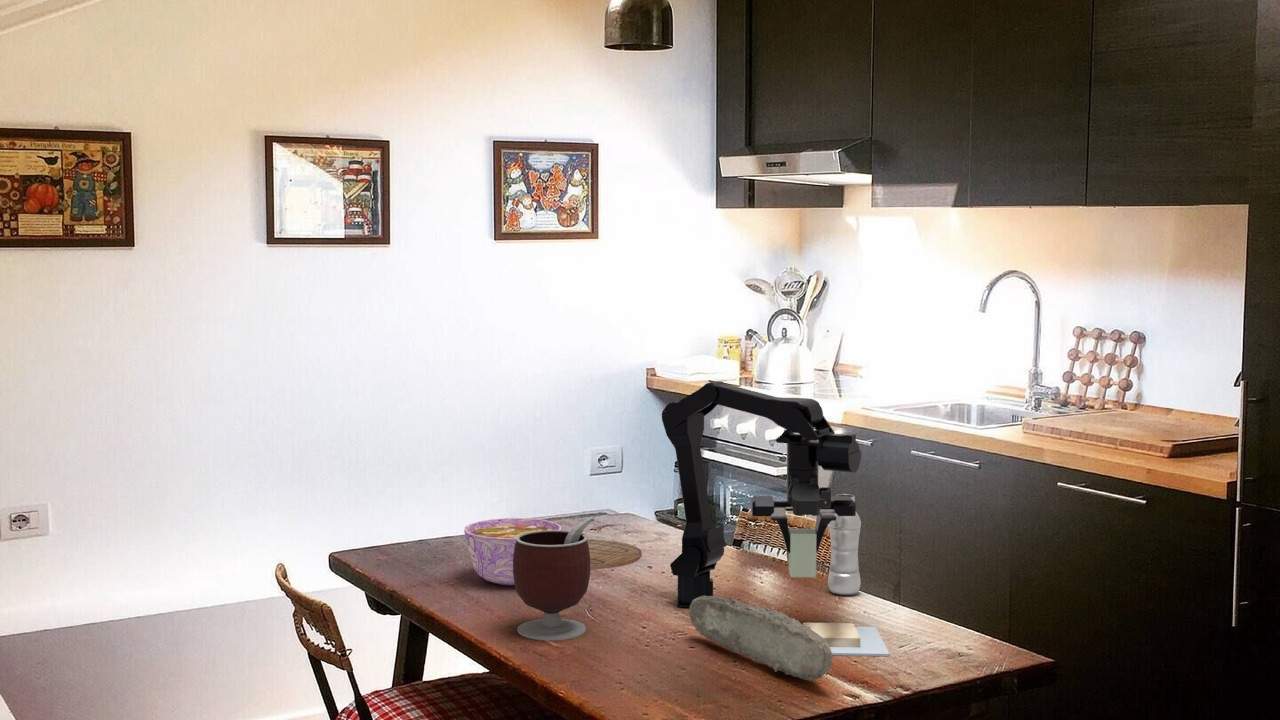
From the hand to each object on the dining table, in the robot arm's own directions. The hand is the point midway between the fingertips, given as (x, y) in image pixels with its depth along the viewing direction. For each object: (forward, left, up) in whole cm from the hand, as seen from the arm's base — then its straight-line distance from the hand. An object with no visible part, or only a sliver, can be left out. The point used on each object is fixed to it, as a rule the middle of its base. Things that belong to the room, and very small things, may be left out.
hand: (802, 552), depth 238 cm
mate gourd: (-45, -7, -14) cm, 47 cm away
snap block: (0, 0, -4) cm, 4 cm away
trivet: (-43, +49, -14) cm, 67 cm away
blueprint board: (+4, -11, -13) cm, 18 cm away
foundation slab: (+4, -11, -13) cm, 17 cm away
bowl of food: (-57, +26, -14) cm, 64 cm away
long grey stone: (-9, -24, -14) cm, 29 cm away
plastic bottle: (+10, +21, -14) cm, 27 cm away
